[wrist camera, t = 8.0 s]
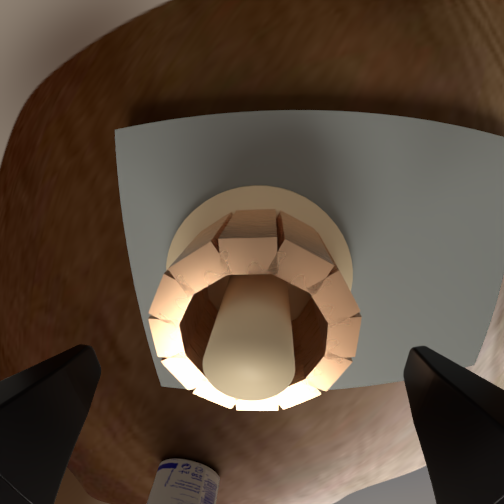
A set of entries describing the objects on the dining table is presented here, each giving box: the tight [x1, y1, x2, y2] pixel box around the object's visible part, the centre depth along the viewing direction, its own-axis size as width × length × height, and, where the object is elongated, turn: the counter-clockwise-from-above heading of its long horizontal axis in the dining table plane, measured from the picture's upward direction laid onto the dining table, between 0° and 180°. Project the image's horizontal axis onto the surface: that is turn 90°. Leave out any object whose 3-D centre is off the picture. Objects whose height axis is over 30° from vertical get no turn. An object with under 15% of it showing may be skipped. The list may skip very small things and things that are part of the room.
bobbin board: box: [115, 110, 504, 401], centre depth 10 cm, size 20×14×7 cm
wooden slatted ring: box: [148, 209, 362, 411], centre depth 10 cm, size 6×6×4 cm
